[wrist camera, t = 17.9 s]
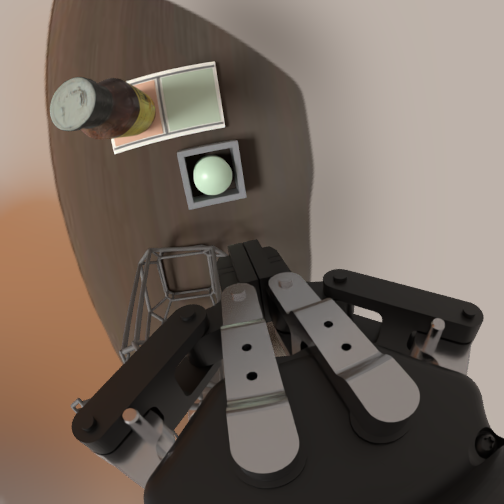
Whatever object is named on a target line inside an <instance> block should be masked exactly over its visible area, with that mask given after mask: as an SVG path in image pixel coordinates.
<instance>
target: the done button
mask: <svg viewBox="0 0 504 504" xmlns="http://www.w3.org/2000/svg"><path fill="white" fill-rule="evenodd" d="M193 174H194V183H195V185H196V187H197V188H198V189H199V190H200V191H201V192H203V193H204V194H207V195H217V194H220V193H222V192H224V191H225V190H226V189H227V188H228V187H229V185H230V184H231V181H232V170H231V168H230V166H229V165H228V163H227V162H226V161H225V160H224V159H223V158H221V157H220V156H217V155H206V156H203V157H201V158H200V159H199V160H198V161H197V162H196V164H195V166H194V171H193Z"/></svg>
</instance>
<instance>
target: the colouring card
mask: <svg viewBox="0 0 504 504" xmlns="http://www.w3.org/2000/svg"><path fill="white" fill-rule="evenodd" d="M126 82H127V83H129V84H131V85H133V86H134V87H136V88H138V89H139V90H141V91H142V92H144V93H146V94H147V95H149V96H150V97H151V99H152V100H153V102H154V104H155V109H156V116H155V119H154V121H153V123H152V124H151V126H150V127H149V128H148V129H147V130H146V131H145V132H143V133H141V134H139V135H135V136H130V137H121V138H114V139H111V141H112V146H113V150H114V154H117V153H120V152H123V151H127V150H130V149H133V148H137V147H140V146H144V145H147V144H151V143H155V142H159V141H162V140H166V139H171V138H175V137H179V136H183V135H188V134H193V133H197V132H202V131H207V130H213V129H218V128H224V127H225V122H224V116H223V110H222V103H221V97H220V91H219V85H218V78H217V72H216V66H215V61H214V62H208V63H201V64H196V65H190V66H185V67H180V68H175V69H171V70H166V71H162V72H158V73H154V74H150V75H147V76H143V77H139V78H136V79H133V80H129V81H126Z"/></svg>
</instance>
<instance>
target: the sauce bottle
mask: <svg viewBox="0 0 504 504" xmlns="http://www.w3.org/2000/svg"><path fill="white" fill-rule="evenodd" d="M50 115H51V118H52V122H53V123H54V125H55V126H56V127H57V128H59V129H61V130H64V131H76V130H80V129H81V130H82V131H83V132H84V133H85V134H86V135H88V136H90V137H92V138H95V139H114V138H121V137H130V136H135V135H139V134H141V133H143V132H145V131H146V130H147V129H148V128H149V127H150V126H151V124H152V123H153V121H154V119H155V116H156V109H155V104H154V102H153V100H152V99H151V97H150V96H149V95H147V94H146V93H144V92H142V91H141V90H139V89H138V88H136V87H134V86H133V85H131V84H129V83H127V82H125V81H123V80H121V79H116V78H110V79H106V80H103V81H101V82H99V83H96V82H95V81H93V80H91V79H87V78H83V77H76V78H72V79H70V80H68V81H66V82H64V83H63V84H62V85H61V86H60V87H59V88H58V89H57V91H56V92H55V94H54V96H53V98H52V101H51V105H50Z"/></svg>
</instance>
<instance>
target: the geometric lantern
mask: <svg viewBox="0 0 504 504" xmlns="http://www.w3.org/2000/svg"><path fill="white" fill-rule="evenodd" d="M188 250H201V251H200V252H192V253H185V254H178V255H170V256H163V253H164V252H170V251H188ZM203 250H204V251H203ZM210 250H211V251H210ZM215 251H216V252H218V253H219V254H216V253H215ZM151 252H152V253H153V254H154V255H156V256H157V257H158V259H157V261H151V262H150V258H151ZM156 252H160V254H159V255H158V254H157V253H156ZM211 253H212V254H211ZM196 254H205V255H207V258H208V265H209V271H210V277H211V283H212V285H211V287H210V288H203V289H197V290H190V291H183V292H176V293H173V292H171V291H169V290H168V288H167V284H166V280H165V276H164V272H163V267H162V263H161V259H166V258H174V257H181V256H189V255H196ZM211 256H212V258H211ZM225 256H228V255H227V254H226V253H225V252H223V251H221V250H220V249H218V248H217V247H215V246H213V245H212V246H205V245H202V244H201V245H195V246H188V247H169V248H149V249H148V250H147V251H146V252H145V254H144V255H143V257H142V258H141V260H140V261H139V263H138V268H137V272H136V276H135V281H134V285H133V289H132V294H131V299H130V303H129V308H128V313H127V319H126V324H125V330H124V335H123V341H122V348H121V350H120V351H119V353H120V356H121V358H122V360H123V362H124V363H125V362H126V361H127V360H128V359H129V358H130V353H129V352H131V351H133V350H135V351H137V350H138V349H139V348H140V347H139V345H143V344H144V343H145V342H146V341H147V340H148V339H149V334H150V322H151V315H152V316H154V317H155V318H157V319H159V320H160V321H162V324H163V323H164V322H165V321H166V320H167V319H166V318H167V315H168V312H169V309H170V306H171V303H172V301H179V300H186V299H193V298H199V297H206V296H210V297H211V300H212V303H213V305H216V304H215V302H214V299H213V296H212V295H213V294H215V295H216V298H217V303H218V302H219V301H220V300H221V291H220V284H219V276H218V270H217V265H216V263H217V261H216V257H225ZM146 257H147V258H146ZM145 259H146V262H144V260H145ZM212 261H213V265H212ZM149 264H157V268H158V271H159V275H160V279H161V282H162V286H163V289H164V292H165V296H166V297H165V298H164V299H163V300H161V301H160V302H159V303H158V304H157V305H156V306H155V307H154V308H152V309H151V306H150V302H149V297H148V292H147V288H146V282H147V275H148V269H149ZM159 264H160V266H159ZM142 265H145V268H144V272H143V267H142ZM160 268H161V270H160ZM213 271H214V272H213ZM161 272H162V274H161ZM140 275H141V280H142V285H141V291H140V297H139V304H138V311H137V318H136V325H135V334H134V341H132V345H130V346H128V347H127V344H128V337H129V330H130V324H131V318H132V312H133V306H134V301H135V296H136V291H137V286H138V281H139V276H140ZM212 288H213V291H212V292H211V289H212ZM215 289H216V292H215ZM205 290H209V294H204V295H198V296H191V297H184V298H177V299H174V295H177V294H184V293H191V292H198V291H205ZM169 293H170V294H172V299H171V298H169V297H168V294H169ZM144 296H145V299H146V303H147V308H148V319H147V328H146V338H145V341H139V338H140V328H141V320H142V311H143V303H144ZM166 299H169V300H170V302H169V305H168V308H167V311H166V314H165V317H164V319H163V318H161V317H160V316H158V315H157V314H155V313H154V312H153V311H154V310H155V309H156V308H157V307H158V306H159V305H160V304H162V303H163V302H164V301H165V300H166ZM124 354H127V357H126V358H125V356H124ZM222 379H223V368H222V364H221V366H220V368H219V381H221V380H222ZM216 384H217V383H215V382H213V381H210V382H209V383H208V385H207V386H206V387H209V388H211V389H212V387H213V386H214V385H216ZM198 399H199V400H200V401H199V403H194V404H193V405H192V407H191V408H190V409H189V410H197V408H198V407H199V405H200V404H201V402H202V401H203V394H202V393H201V394H200V396H199V397H198ZM89 400H90V399H88V400H85V401H82V400H81V399H80V398H78V399H77V400H76V401H74V403H72V404H71V408H72V409H73V410H74V411H75V412H76V414H77V413H78V412H79V411H80V409H81V408H79V409H76V408H75V406H76V405H77V404H78V403H79V404H80V405H81V407H83V406H84V405H85V404H86V403H87V402H88V401H89ZM173 434H174V435H175V436H176V437H177V438H178V435H177V434H176V433H175V431H173Z"/></svg>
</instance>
